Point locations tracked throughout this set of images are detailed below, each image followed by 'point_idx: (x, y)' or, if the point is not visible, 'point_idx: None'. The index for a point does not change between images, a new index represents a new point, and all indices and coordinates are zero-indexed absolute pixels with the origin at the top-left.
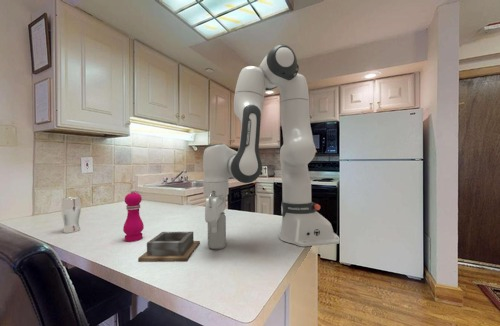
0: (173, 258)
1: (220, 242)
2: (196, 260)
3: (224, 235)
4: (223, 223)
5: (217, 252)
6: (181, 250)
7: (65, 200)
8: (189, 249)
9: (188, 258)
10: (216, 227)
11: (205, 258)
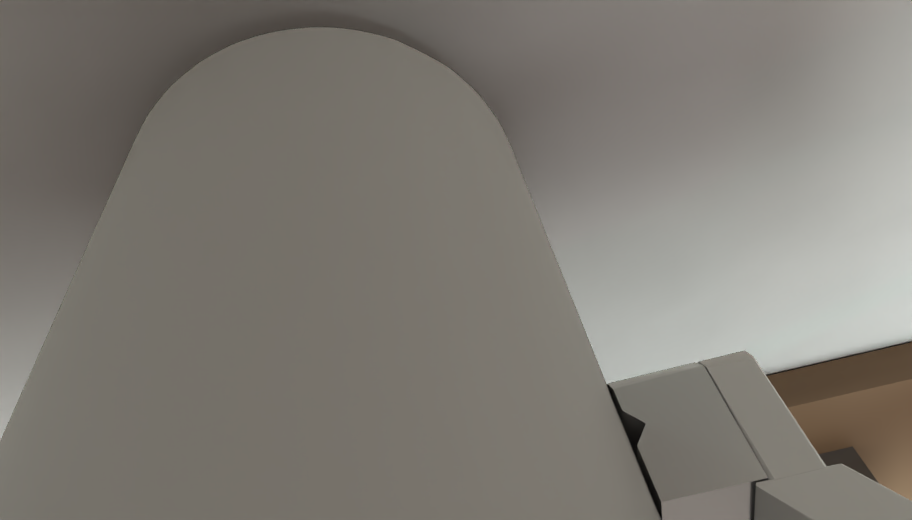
0: (910, 489)
1: (490, 132)
2: (898, 251)
3: (374, 142)
4: (480, 441)
5: (588, 75)
6: None
7: None
8: None
9: (857, 363)
10: (829, 467)
11: (842, 164)
